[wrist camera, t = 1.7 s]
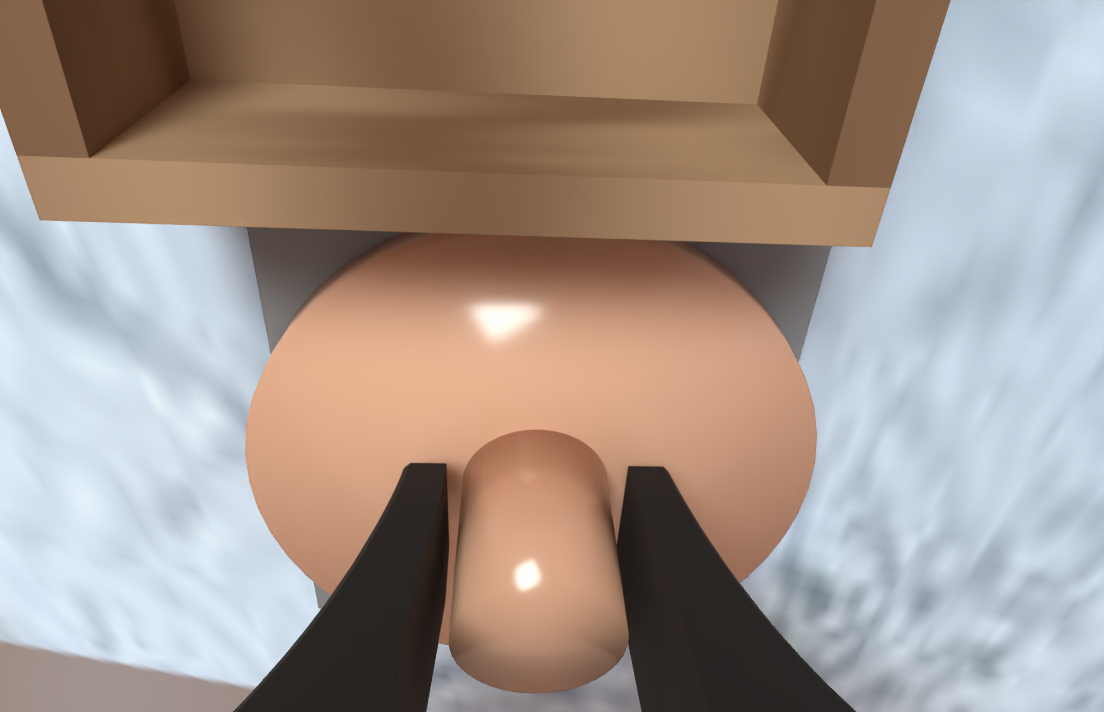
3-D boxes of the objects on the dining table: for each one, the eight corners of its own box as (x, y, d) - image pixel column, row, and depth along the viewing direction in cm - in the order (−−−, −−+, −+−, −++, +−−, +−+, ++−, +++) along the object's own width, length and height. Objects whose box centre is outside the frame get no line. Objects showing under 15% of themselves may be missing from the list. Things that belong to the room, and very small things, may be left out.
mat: (823, 235, 12) (831, 246, 12) (723, 595, 17) (727, 609, 17) (254, 216, 12) (246, 226, 12) (322, 592, 17) (318, 608, 17)
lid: (871, 217, 12) (1006, 369, 9) (744, 622, 18) (796, 806, 14) (206, 194, 11) (77, 348, 8) (298, 620, 17) (245, 813, 14)
